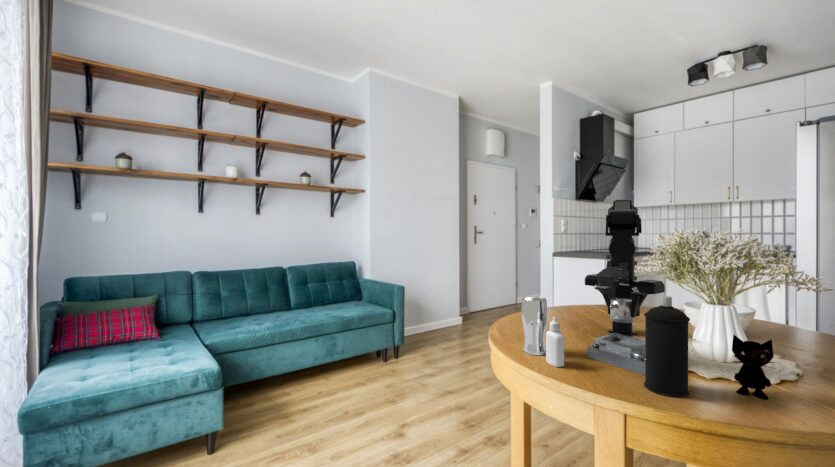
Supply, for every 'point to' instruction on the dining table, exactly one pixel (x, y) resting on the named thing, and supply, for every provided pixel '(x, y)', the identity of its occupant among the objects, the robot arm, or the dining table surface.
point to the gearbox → (619, 351)
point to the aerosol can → (666, 350)
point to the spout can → (621, 310)
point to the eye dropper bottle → (555, 345)
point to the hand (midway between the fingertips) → (622, 315)
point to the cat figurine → (752, 365)
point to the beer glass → (534, 324)
